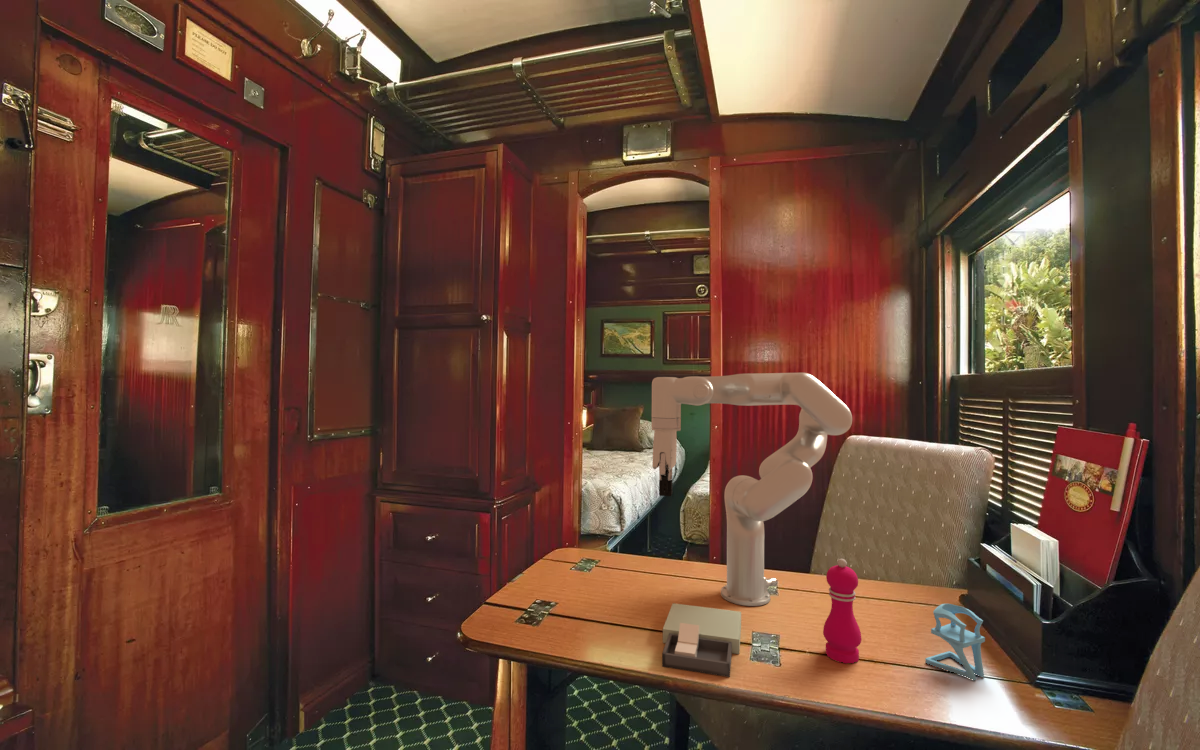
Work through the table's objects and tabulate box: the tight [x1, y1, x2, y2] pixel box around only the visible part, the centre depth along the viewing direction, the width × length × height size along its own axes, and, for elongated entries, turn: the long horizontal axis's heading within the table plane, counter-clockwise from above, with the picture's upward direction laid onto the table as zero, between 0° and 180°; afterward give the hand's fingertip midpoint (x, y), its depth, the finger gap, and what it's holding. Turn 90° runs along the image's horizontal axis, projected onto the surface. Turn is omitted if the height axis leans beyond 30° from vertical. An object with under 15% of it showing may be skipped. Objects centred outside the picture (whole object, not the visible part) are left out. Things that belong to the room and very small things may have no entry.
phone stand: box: [924, 603, 986, 681], centre depth 105 cm, size 8×8×12 cm
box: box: [661, 633, 733, 678], centre depth 107 cm, size 9×13×2 cm
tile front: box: [675, 642, 697, 657], centre depth 107 cm, size 4×4×2 cm
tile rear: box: [678, 623, 700, 649], centre depth 111 cm, size 4×4×2 cm
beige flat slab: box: [662, 602, 742, 655], centre depth 119 cm, size 14×16×3 cm
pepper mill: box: [822, 558, 862, 664], centre depth 110 cm, size 7×7×20 cm
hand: (665, 495), depth 137 cm, fingers closed
